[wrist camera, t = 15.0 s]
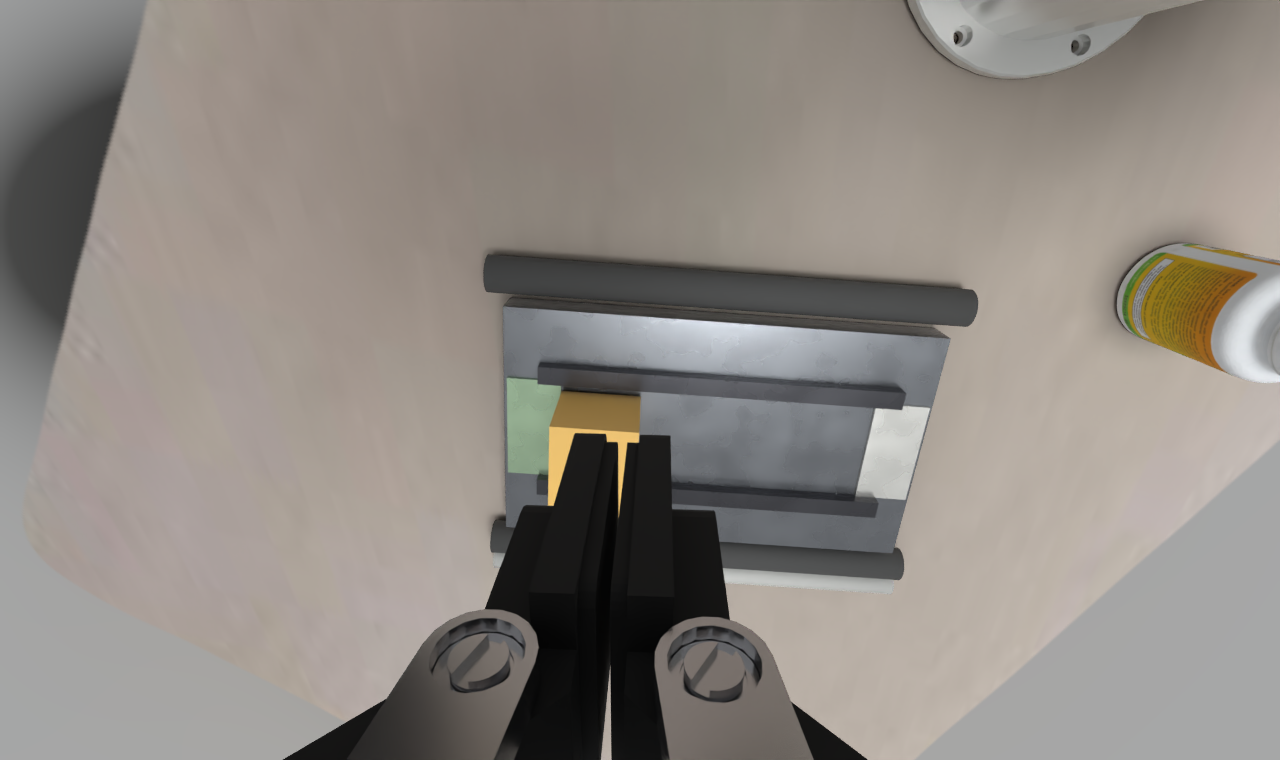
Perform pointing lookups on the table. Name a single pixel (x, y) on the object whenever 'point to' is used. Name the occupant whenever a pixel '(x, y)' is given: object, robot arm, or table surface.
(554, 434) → the toggle
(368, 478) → the table surface
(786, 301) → the pair of dark bars
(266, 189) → the table surface
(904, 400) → the railed metal tray
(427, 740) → the robot arm
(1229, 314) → the supplement bottle
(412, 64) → the table surface
